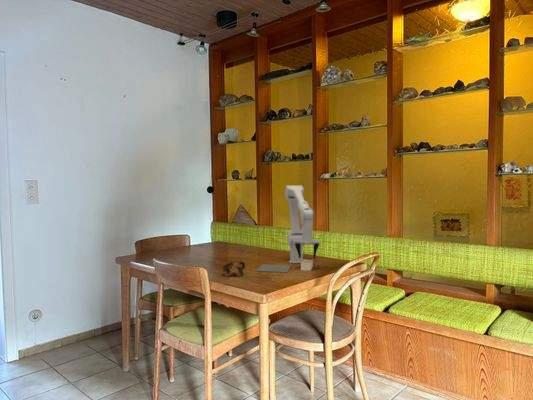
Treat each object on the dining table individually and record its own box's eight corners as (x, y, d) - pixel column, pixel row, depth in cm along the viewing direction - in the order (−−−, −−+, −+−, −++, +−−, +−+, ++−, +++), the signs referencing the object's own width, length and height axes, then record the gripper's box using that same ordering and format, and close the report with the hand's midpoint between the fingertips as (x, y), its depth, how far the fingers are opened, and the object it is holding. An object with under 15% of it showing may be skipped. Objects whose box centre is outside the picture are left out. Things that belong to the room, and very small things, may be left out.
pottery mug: (234, 279, 194) (226, 264, 195) (225, 284, 201) (217, 269, 202) (252, 269, 202) (244, 254, 203) (243, 274, 209) (235, 260, 210)
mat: (262, 264, 223) (262, 264, 223) (291, 266, 220) (291, 265, 220) (255, 271, 208) (255, 270, 208) (286, 272, 204) (286, 272, 204)
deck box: (303, 266, 219) (303, 259, 219) (312, 267, 218) (312, 259, 218) (300, 270, 210) (300, 262, 210) (310, 271, 209) (310, 263, 209)
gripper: (292, 233, 211) (292, 258, 211) (320, 233, 207) (320, 259, 208) (294, 231, 217) (294, 256, 218) (321, 232, 214) (321, 257, 215)
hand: (307, 258), depth 214 cm, fingers open, 7 cm apart
